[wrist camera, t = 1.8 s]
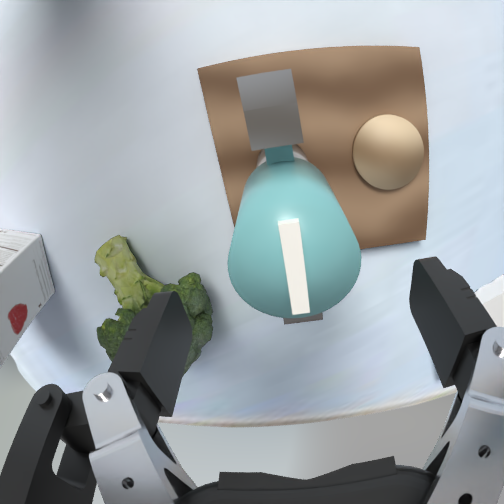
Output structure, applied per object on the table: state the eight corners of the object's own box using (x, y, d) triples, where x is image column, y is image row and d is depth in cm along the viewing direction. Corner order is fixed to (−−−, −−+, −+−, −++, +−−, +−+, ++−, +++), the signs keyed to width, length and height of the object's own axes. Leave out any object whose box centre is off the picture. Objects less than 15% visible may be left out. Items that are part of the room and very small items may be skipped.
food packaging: (437, 368, 41) (532, 317, 34) (443, 384, 38) (541, 330, 31) (427, 309, 35) (539, 247, 28) (435, 327, 32) (552, 261, 25)
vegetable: (159, 192, 25) (253, 344, 25) (161, 232, 38) (226, 336, 37) (39, 262, 21) (131, 421, 21) (79, 281, 34) (143, 388, 33)
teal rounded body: (226, 128, 16) (195, 161, 9) (320, 113, 15) (356, 136, 9) (258, 271, 20) (252, 360, 14) (335, 261, 19) (360, 347, 13)
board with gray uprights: (201, 69, 22) (147, 61, 12) (411, 48, 19) (497, 40, 9) (244, 256, 31) (232, 349, 20) (419, 232, 28) (476, 309, 18)
